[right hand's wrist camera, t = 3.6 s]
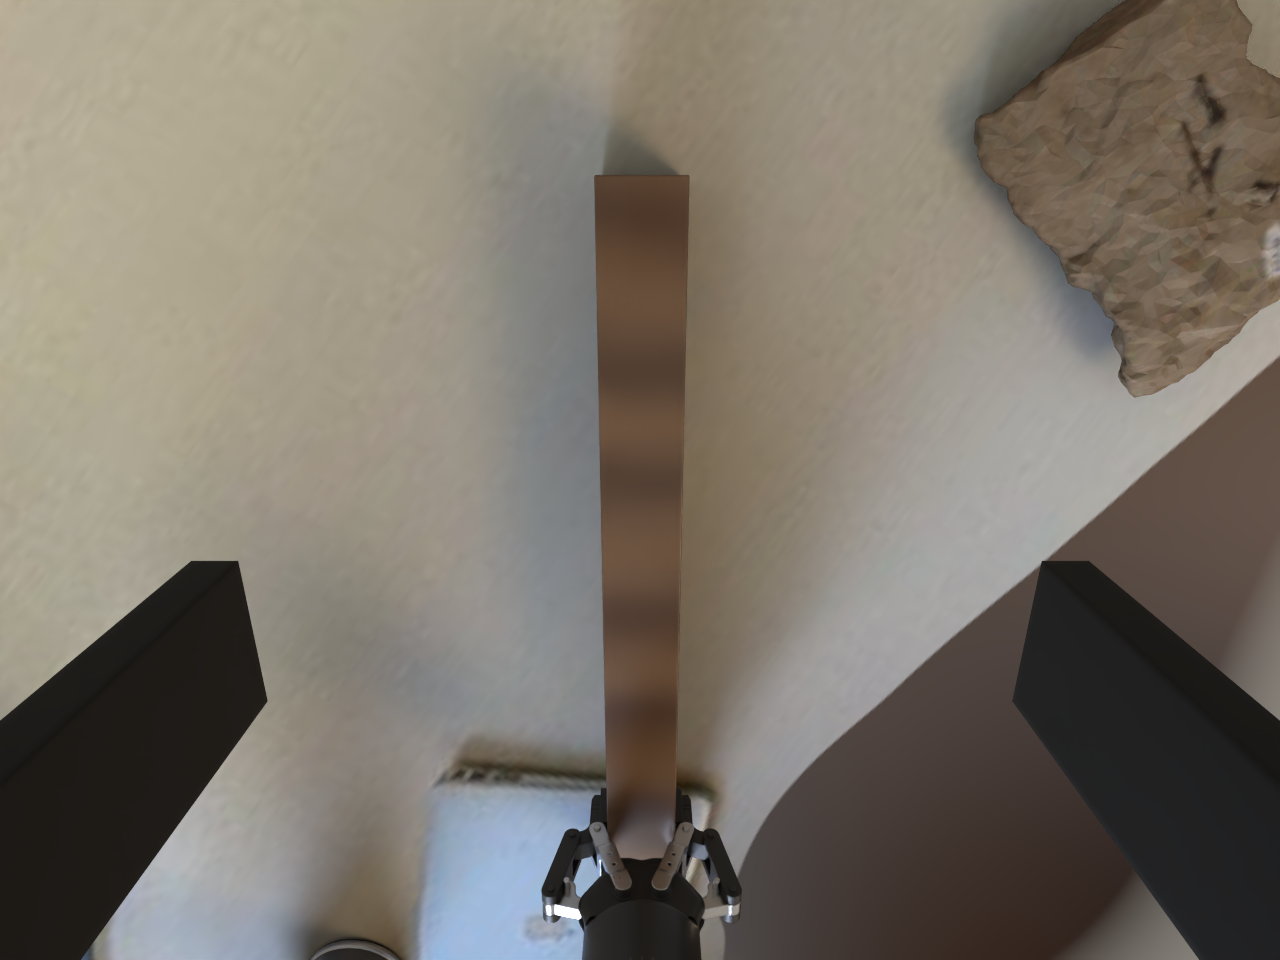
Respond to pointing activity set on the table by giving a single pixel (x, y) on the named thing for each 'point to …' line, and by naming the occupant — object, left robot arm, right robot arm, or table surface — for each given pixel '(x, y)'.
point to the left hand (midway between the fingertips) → (641, 797)
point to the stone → (1152, 178)
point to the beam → (641, 494)
